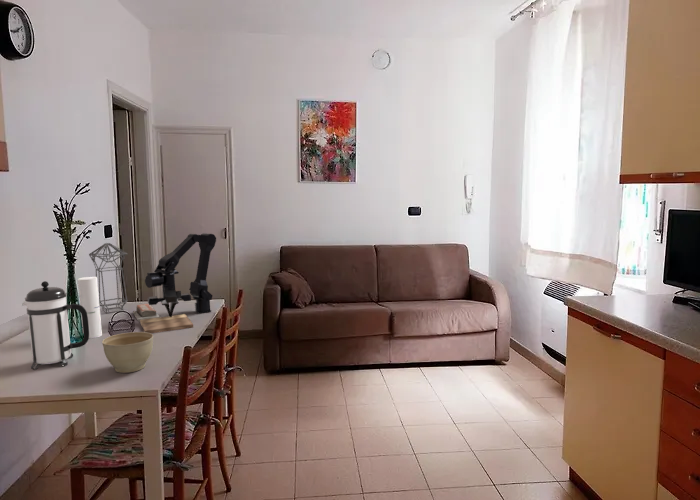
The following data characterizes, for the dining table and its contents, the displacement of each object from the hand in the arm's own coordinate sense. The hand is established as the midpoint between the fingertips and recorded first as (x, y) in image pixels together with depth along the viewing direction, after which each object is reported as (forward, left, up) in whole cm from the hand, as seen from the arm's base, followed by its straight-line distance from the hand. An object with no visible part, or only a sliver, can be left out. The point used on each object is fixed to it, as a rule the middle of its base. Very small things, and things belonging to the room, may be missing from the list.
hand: (170, 316), depth 241 cm
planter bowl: (+22, +62, -2) cm, 66 cm away
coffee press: (+45, +41, -2) cm, 61 cm away
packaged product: (+9, -15, -2) cm, 18 cm away
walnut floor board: (+3, +13, -2) cm, 13 cm away
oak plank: (+3, +2, -2) cm, 4 cm away
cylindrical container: (+33, +10, -2) cm, 35 cm away
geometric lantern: (+23, -36, -2) cm, 43 cm away
